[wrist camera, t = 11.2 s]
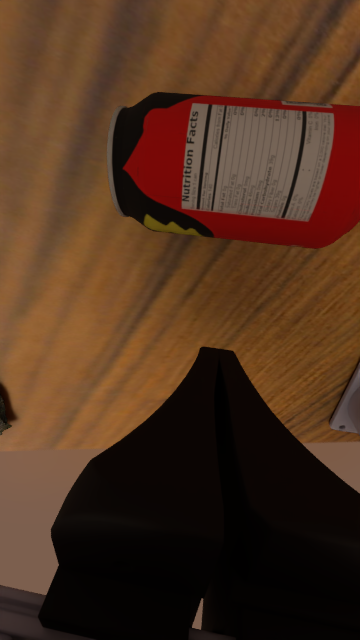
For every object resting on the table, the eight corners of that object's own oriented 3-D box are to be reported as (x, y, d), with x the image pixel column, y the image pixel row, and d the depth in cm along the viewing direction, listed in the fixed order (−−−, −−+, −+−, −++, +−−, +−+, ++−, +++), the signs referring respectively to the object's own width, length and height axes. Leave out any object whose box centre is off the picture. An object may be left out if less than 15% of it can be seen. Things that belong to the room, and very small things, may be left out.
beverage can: (358, 110, 14) (137, 94, 15) (430, 104, 9) (93, 81, 10) (314, 229, 18) (140, 211, 19) (348, 271, 13) (110, 243, 14)
